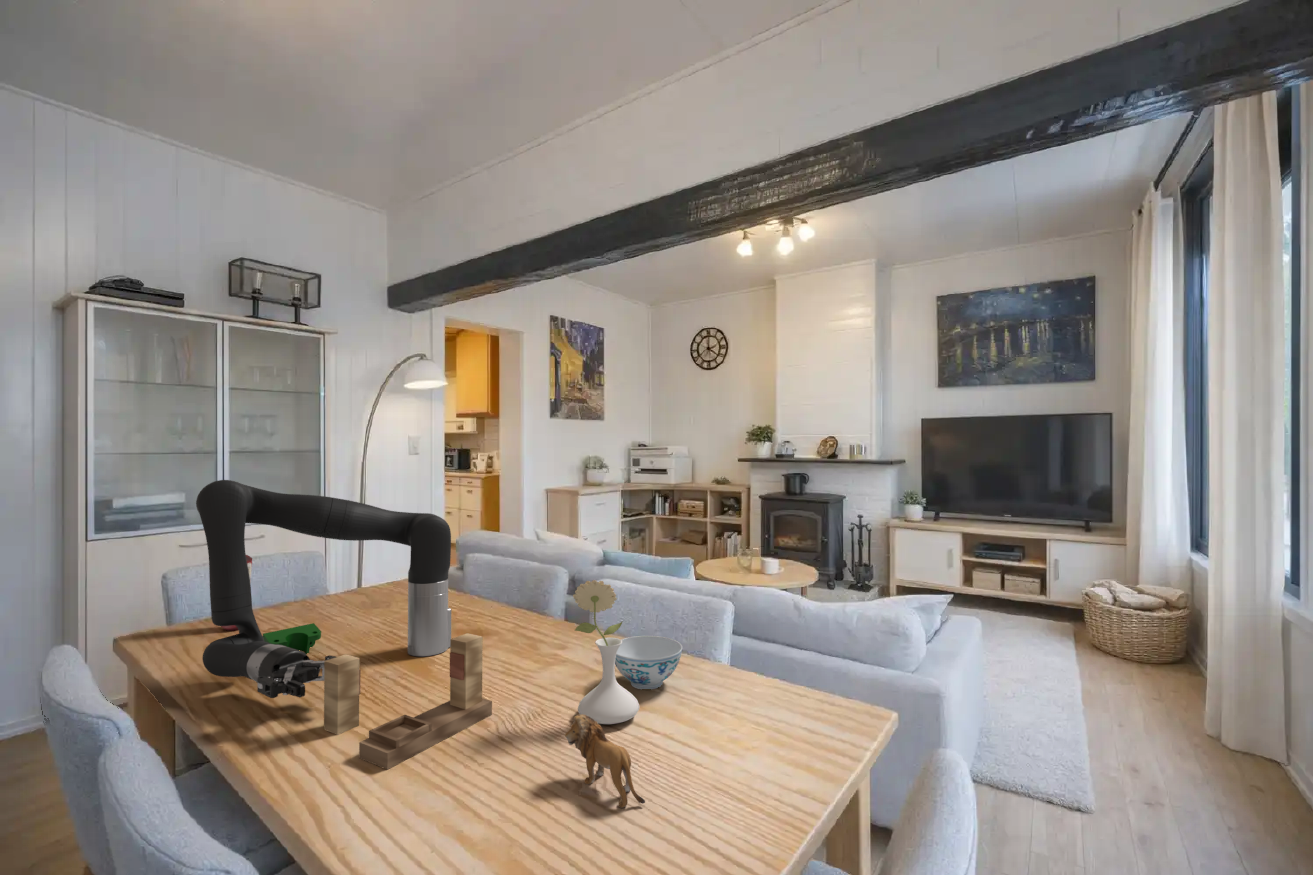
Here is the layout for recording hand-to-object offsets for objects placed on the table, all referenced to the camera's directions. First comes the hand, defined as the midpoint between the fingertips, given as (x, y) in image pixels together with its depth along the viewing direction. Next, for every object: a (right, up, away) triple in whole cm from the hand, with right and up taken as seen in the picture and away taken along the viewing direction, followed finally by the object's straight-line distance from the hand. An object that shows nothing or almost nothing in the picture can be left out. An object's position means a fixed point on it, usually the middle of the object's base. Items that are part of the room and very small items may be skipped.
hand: (327, 682), depth 109 cm
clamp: (-28, -8, +36) cm, 46 cm away
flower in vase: (+50, -7, +2) cm, 51 cm away
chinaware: (+58, -8, +18) cm, 61 cm away
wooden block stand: (+21, -7, -5) cm, 22 cm away
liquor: (-56, -8, +56) cm, 80 cm away
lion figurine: (+52, -7, -21) cm, 56 cm away
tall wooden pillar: (+4, -7, -2) cm, 8 cm away
